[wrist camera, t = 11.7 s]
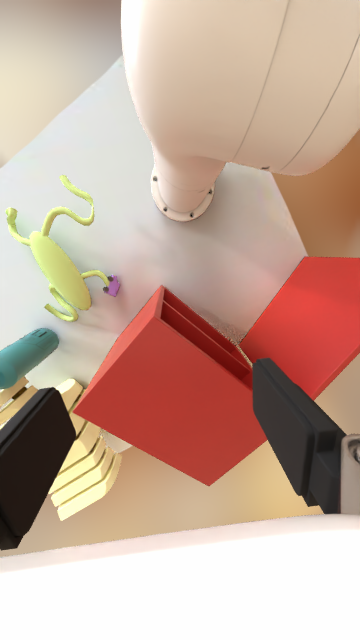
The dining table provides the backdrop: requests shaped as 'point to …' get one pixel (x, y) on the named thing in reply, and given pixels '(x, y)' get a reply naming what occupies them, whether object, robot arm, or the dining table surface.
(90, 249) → the dining table surface
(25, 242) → the figurine
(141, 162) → the dining table surface
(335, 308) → the fridge door
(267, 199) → the dining table surface
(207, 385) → the box
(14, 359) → the beverage bottle
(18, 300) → the dining table surface
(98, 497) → the slatted curved stool
